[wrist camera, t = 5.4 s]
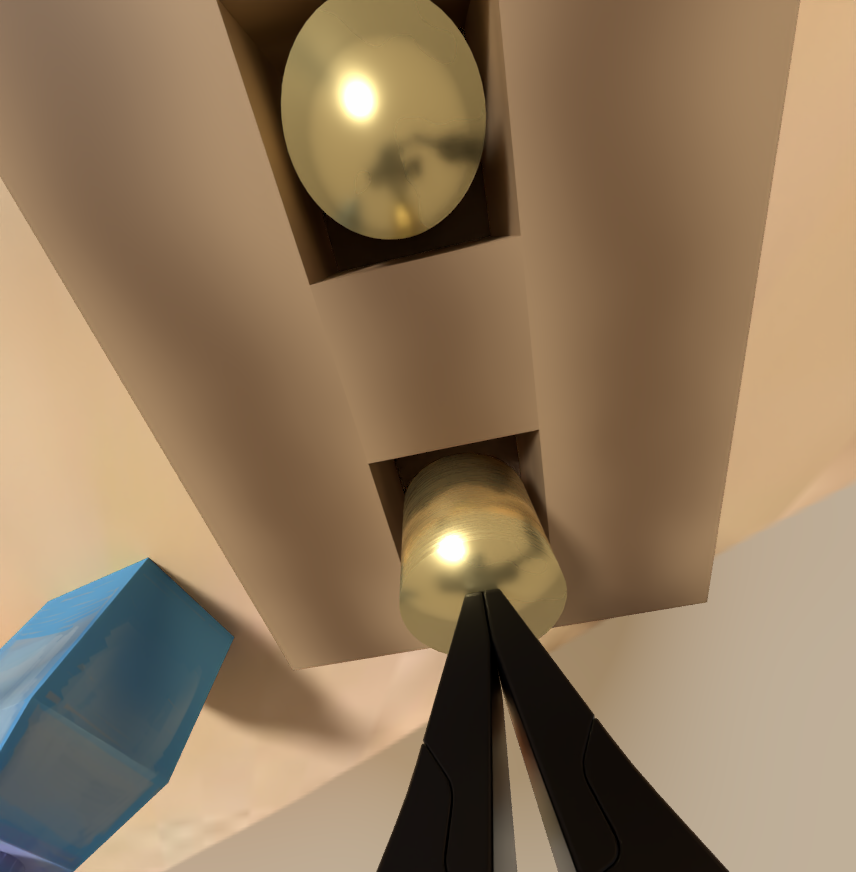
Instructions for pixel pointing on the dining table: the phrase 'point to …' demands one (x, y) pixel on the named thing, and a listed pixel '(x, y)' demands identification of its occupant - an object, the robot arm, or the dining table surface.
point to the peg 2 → (473, 548)
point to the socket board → (416, 285)
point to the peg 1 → (383, 114)
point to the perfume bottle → (98, 711)
